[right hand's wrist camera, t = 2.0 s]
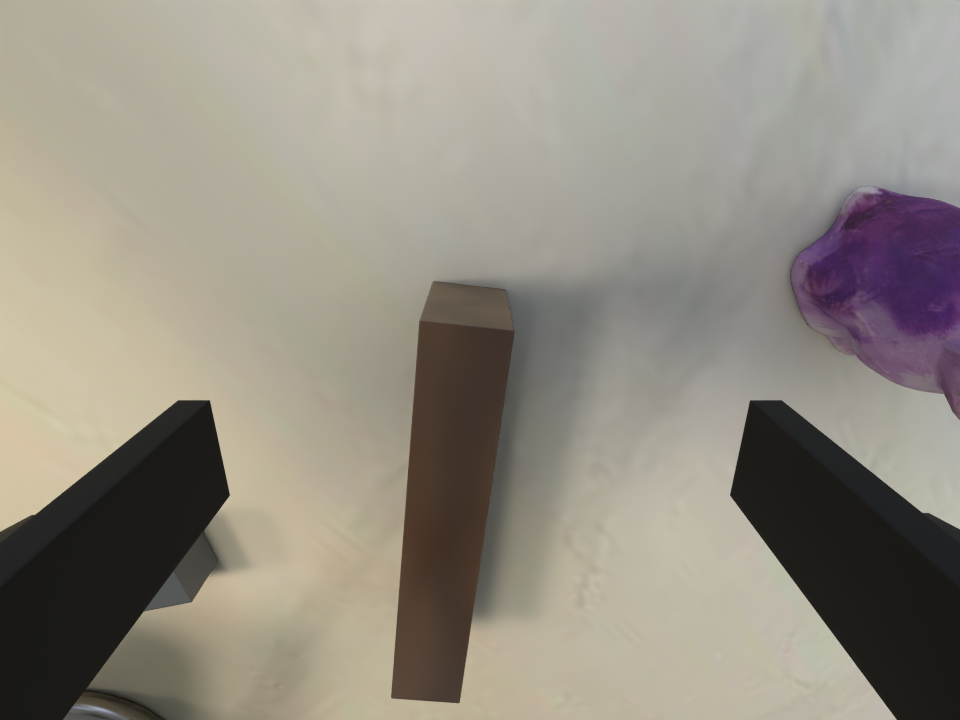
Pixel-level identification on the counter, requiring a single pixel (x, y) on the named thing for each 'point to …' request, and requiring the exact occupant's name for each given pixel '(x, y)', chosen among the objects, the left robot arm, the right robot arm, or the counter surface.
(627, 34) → the counter surface
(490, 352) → the walnut beam
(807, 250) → the figurine
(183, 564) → the slate block
